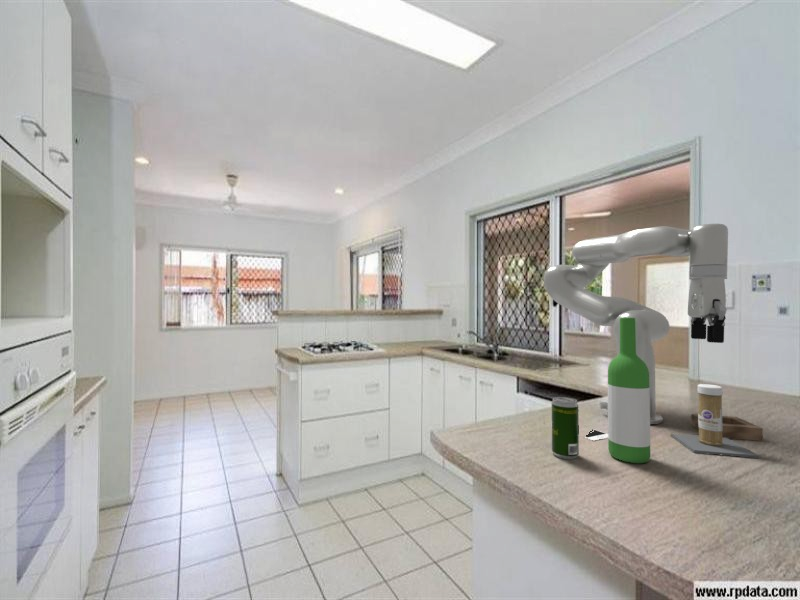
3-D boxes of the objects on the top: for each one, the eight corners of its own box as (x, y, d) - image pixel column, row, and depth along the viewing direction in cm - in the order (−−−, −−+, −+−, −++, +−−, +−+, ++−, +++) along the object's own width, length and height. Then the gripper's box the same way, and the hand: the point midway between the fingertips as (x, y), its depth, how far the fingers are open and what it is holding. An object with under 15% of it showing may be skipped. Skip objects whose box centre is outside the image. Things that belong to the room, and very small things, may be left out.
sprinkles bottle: (697, 443, 89) (696, 385, 89) (698, 438, 92) (697, 382, 92) (723, 448, 86) (722, 388, 86) (723, 442, 89) (722, 385, 89)
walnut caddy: (712, 436, 95) (711, 424, 95) (691, 424, 105) (691, 413, 105) (762, 440, 93) (762, 428, 93) (736, 427, 103) (736, 416, 103)
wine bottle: (611, 461, 79) (609, 317, 80) (605, 449, 86) (604, 317, 87) (654, 467, 76) (653, 318, 77) (645, 454, 84) (644, 317, 84)
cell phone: (593, 443, 92) (593, 440, 92) (542, 424, 106) (542, 422, 106) (615, 438, 95) (615, 435, 95) (562, 421, 109) (562, 419, 109)
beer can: (584, 457, 81) (583, 401, 82) (566, 461, 79) (566, 403, 79) (563, 449, 86) (563, 395, 87) (546, 452, 84) (546, 398, 84)
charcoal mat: (694, 452, 84) (694, 450, 84) (670, 435, 96) (670, 433, 96) (759, 458, 81) (759, 455, 81) (726, 440, 93) (726, 437, 93)
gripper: (678, 275, 106) (676, 337, 106) (704, 270, 90) (703, 343, 90) (710, 275, 104) (709, 338, 104) (744, 270, 87) (742, 345, 87)
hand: (706, 340), depth 97 cm, fingers open, 9 cm apart
